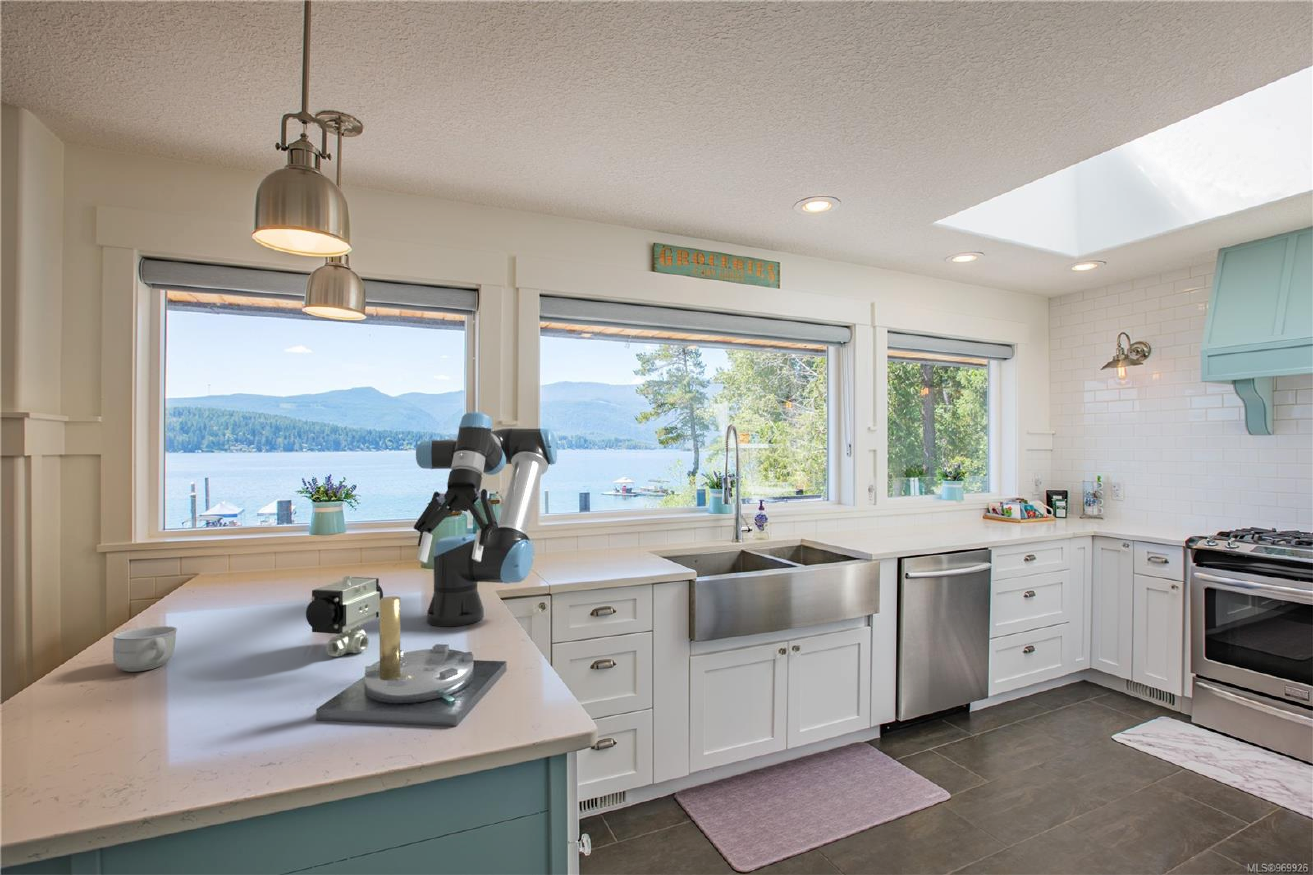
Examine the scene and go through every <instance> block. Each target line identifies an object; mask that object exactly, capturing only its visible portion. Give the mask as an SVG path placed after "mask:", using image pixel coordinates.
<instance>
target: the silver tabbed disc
mask: <svg viewBox="0 0 1313 875" xmlns="http://www.w3.org/2000/svg"><path fill="white" fill-rule="evenodd" d="M473 660H474V655H473V652H472V651H467V652H464V651H461V650H456V649H450V644H442V643H441V644H438V643H437V644H434V645H433V646H432V648H428V649H418V650H411V651H410V650H409V651H405V652H404V650H402V649H401V597H400V596H385V597H383V598H381V599H380V611H379V660H378V661H376V662H374V663H373V664H371V665H367V666H364V668H365V671H364V676H365V693H366V695H367V696H369V697H370V698H372V699H374V700H377V701H382V702H388V703H411V702H420V701H426V700H432V699H436V698H440V697H441V696H443V695H447V694H448V695H449V694H452V693H454V692H456V691H459V690H460V689H462V688H464V687H465V686H467V685H468V684H469V683H470V682H471V681H472V679H473Z"/></svg>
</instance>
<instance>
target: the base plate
mask: <svg viewBox="0 0 1313 875" xmlns="http://www.w3.org/2000/svg"><path fill="white" fill-rule="evenodd" d="M507 669H508V668H507V660H482V659H481V660H479V659H478V660H477V659H473V679H472V681H471V682H470V683H469V684H468V685H467V686H465V687H464V688H462V689H460V690H459V691H456V692H454V693H452V694H449V695H448V694H447V695H443V696H441V697H440V698H436V699H432V700H426V701H420V702H411V703H388V702H382V701H377V700H374V699H372V698H370V697H369V696H367V695H366V693H365V675H364V676H363V677H362V678H360V679H358V680H357V681H355V682H354V683H352V684H351V685H349V686H347V687H346V688H345V689H343V690H342V691H340V692H339V693H338V694H336V695H335V696H333V697H332V698H330V699H328V700H327V701H326V702H324V703H323V704H321V705H320V706H318V707H317V708H316V710H315V711H316V714H315V716H316V717H315V718H316V720H315V721H323V722H324V721H327V722H328V721H331V722H348V723H349V722H350V723H351V722H353V723H373V724H395V725H396V724H397V725H417V726H418V725H419V726H438V727H439V726H442V727H443V726H445V727H458V726H459V724H460V723H461V722H462V721H463V720H464V719H465V718H466V717H467V716H468V714H469V713H470V712H471V711H472V710H473V709H474V707H475V706H476V705H477V704H478V703H479V702H480V701H481V700H482V699H483V697H484V696H486V694H487V693H488V692H489V691H490V690H491V689H492V688H493V687H494V685H495V684H496V683H497V682H498V681H499V680H500V678H501V677H503V675H504V674H505V673H506V672H507V671H508V670H507Z"/></svg>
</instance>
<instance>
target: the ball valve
mask: <svg viewBox="0 0 1313 875" xmlns="http://www.w3.org/2000/svg"><path fill="white" fill-rule="evenodd" d="M379 579H380V578H378V577H362V576H361V577H358V576H352V577H351V576H350V575H346V576H344V577H342V580H340V581H337V582H334V583H330V584H328V585H325V586H322V587H318V588H314V589H312V590H311V599H310V600H311V602H310V603H309V604H308V605H307V607H306V611H305V618H306V621H307V623H308V625H309V626H310V627H311V632H312V633H319V634H333V635H334V634H335V636H333V637H331V638H330V639H329V641H328V642H326V643H327V644H326V646H325V650H326V653H327V655H328V656H330V657H342V656H344V655H346V654H359V653H363V652H364V651H366V650H367V649H368V646H369V644H370V643H369V642H370V640H369V637H368V635H367V634H366V632H365V630H364V628H360V627H361V626H362V625H363V624H366V623H368V622H370V621H372V620H374V619H377V618H380V599H381V598H384V592H383V589H382V587H381V586H380V583H379V582H380V580H379Z"/></svg>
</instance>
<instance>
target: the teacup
mask: <svg viewBox="0 0 1313 875" xmlns="http://www.w3.org/2000/svg"><path fill="white" fill-rule="evenodd" d="M177 631H178V629H177V627H175V626H167V625H166V626H165V625H163V626H162V625H161V626H159V625H158V626H147V627H139V628H133V629H128V630H124V631H120V632H117V633H116V634H114V635H113V636H112V639H113V644H112V660H113V663H114V665H115V666H116V667H118V668H120V669H122V670H123V671H124V672H127V673H129V672H143V671H149V670H154V669H157V668H160V667H162V666H163V665H164V664H165V663H166V662H168V661H169V660H170V659H171V658H172V657H173V655H174V652H175V649H176V648H175V646H176V637H177V636H176V635H177V634H176V633H177Z"/></svg>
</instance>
